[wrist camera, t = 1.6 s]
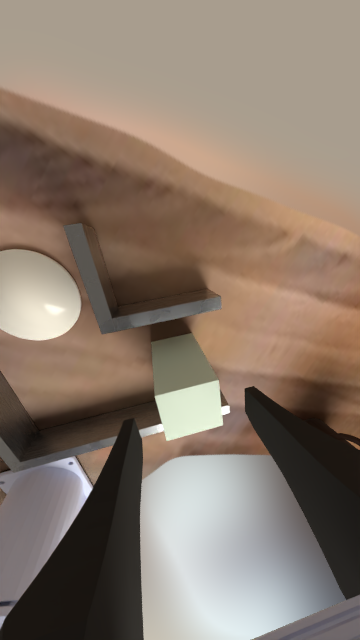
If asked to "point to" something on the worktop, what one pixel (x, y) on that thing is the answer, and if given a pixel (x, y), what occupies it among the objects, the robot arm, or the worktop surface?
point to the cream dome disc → (36, 296)
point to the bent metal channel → (101, 431)
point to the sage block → (185, 387)
